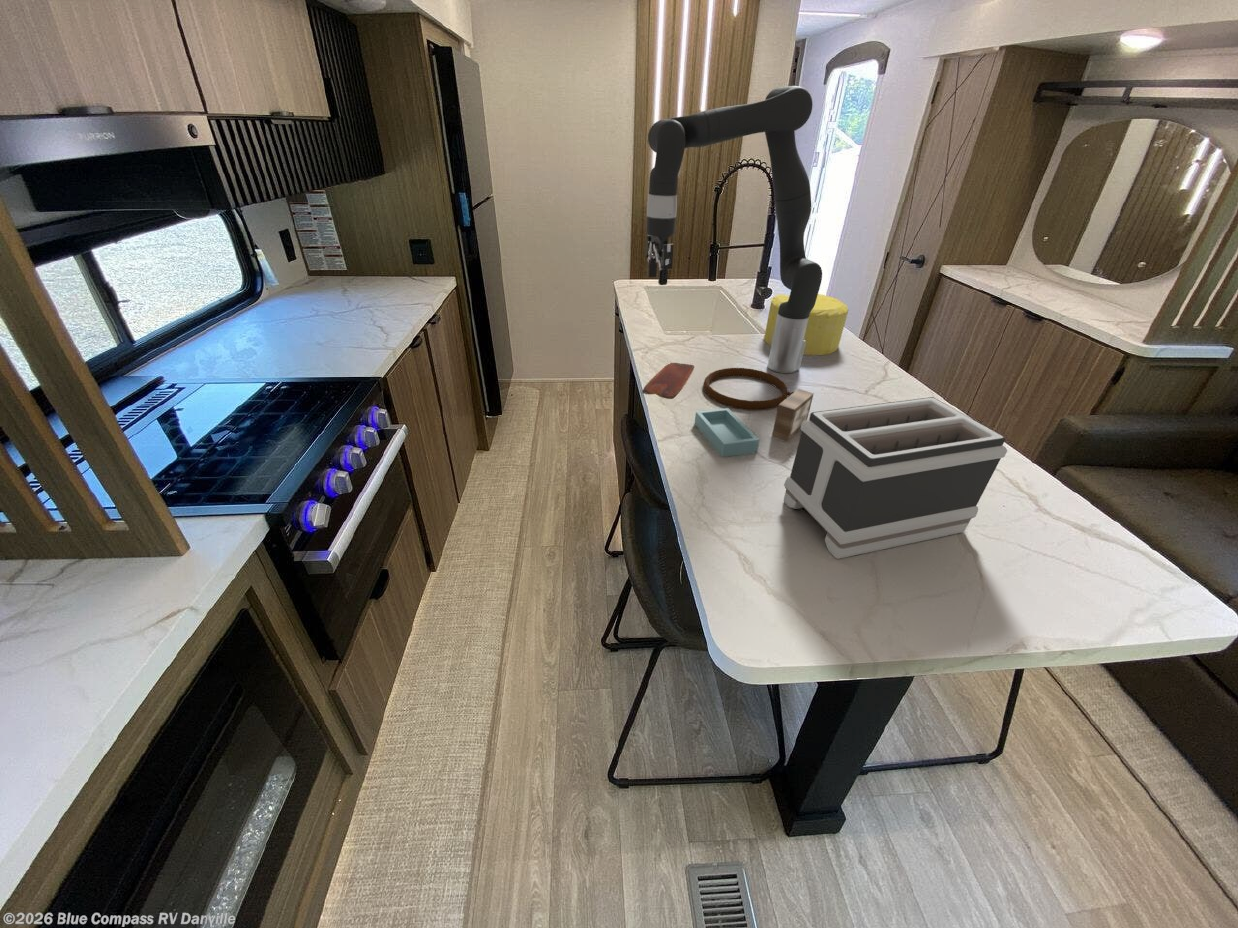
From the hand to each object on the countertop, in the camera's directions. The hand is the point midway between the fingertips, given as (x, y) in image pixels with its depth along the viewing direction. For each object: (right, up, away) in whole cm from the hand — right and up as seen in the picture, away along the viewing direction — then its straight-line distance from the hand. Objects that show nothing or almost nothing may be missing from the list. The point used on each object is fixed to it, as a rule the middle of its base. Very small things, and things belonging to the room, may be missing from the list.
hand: (657, 280), depth 139 cm
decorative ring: (+29, -29, +11) cm, 43 cm away
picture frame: (+33, -41, -7) cm, 53 cm away
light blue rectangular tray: (+16, -43, -11) cm, 47 cm away
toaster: (+42, -60, -35) cm, 81 cm away
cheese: (+56, -5, +49) cm, 74 cm away
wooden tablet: (+6, -24, +18) cm, 31 cm away
